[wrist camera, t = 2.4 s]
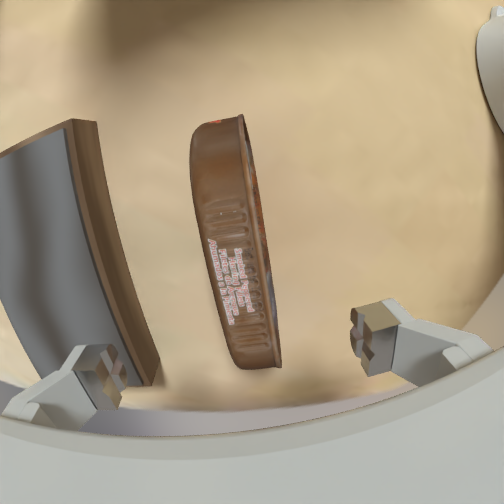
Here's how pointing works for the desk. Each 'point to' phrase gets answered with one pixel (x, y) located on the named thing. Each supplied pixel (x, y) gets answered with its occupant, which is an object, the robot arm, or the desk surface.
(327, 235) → the desk surface
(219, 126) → the tin
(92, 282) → the plinth
